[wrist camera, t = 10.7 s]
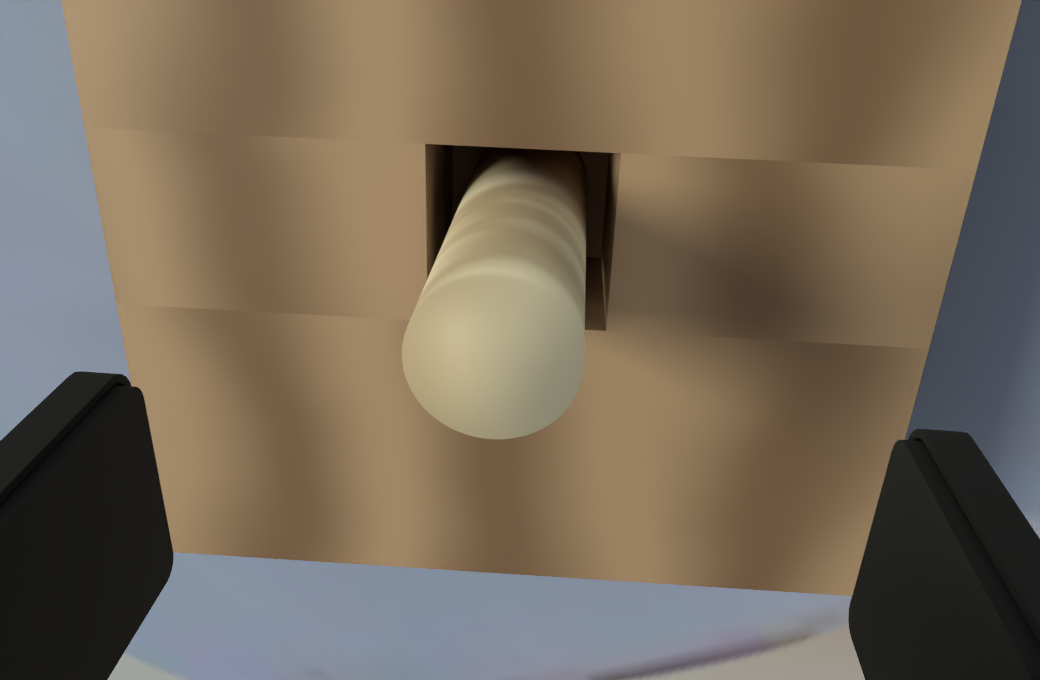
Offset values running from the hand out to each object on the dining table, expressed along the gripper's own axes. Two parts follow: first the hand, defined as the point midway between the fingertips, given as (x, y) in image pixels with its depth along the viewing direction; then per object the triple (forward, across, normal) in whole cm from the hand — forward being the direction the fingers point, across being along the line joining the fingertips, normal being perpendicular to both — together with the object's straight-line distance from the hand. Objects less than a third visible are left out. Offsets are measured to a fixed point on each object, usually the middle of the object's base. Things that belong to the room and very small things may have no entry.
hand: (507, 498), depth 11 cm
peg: (+16, +1, +1) cm, 16 cm away
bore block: (+17, +1, +1) cm, 17 cm away
